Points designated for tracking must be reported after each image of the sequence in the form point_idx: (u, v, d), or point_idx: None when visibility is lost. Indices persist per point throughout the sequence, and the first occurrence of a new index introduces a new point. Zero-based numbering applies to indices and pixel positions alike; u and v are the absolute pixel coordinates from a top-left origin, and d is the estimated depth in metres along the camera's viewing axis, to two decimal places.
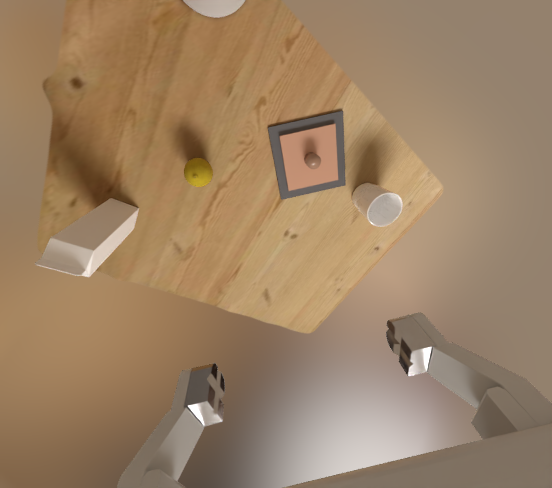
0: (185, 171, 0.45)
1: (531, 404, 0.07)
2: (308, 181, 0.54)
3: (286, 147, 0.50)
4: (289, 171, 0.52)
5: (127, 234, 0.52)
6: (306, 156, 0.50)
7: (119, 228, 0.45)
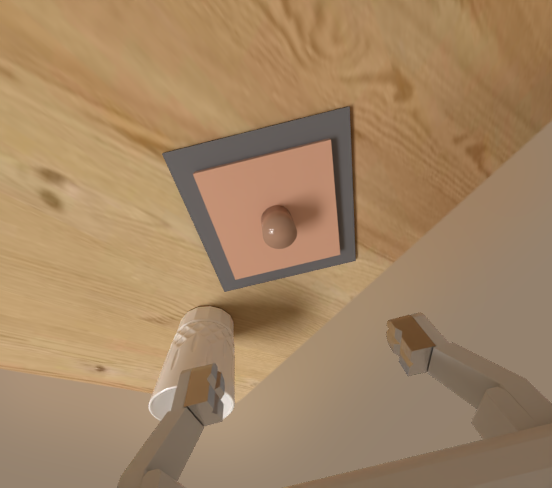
0: None
1: (531, 404, 0.07)
2: (225, 222, 0.22)
3: (303, 158, 0.20)
4: (246, 171, 0.20)
5: None
6: (285, 211, 0.21)
7: None
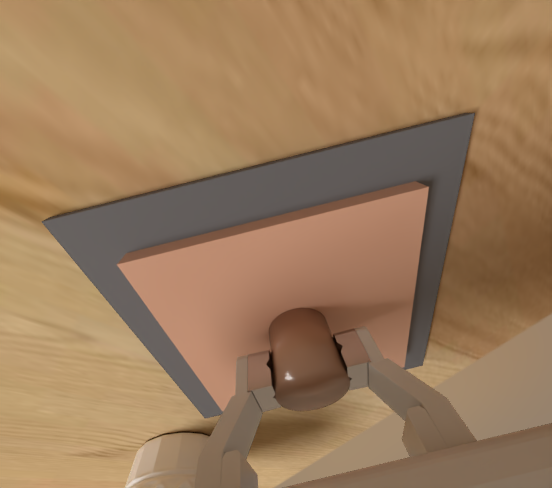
0: None
1: (446, 425, 0.07)
2: (198, 339, 0.11)
3: (363, 225, 0.09)
4: (238, 255, 0.09)
5: None
6: (321, 326, 0.10)
7: None
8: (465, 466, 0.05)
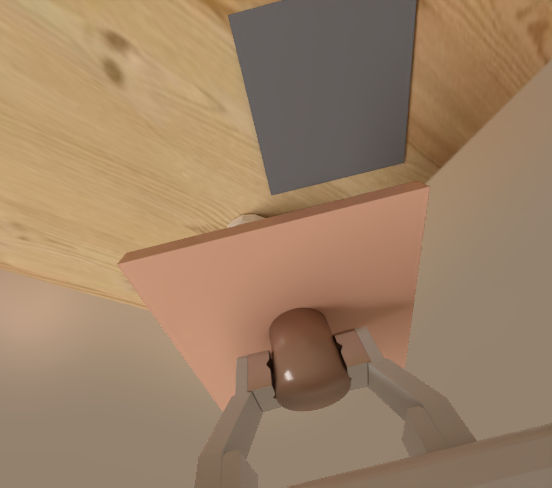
0: None
1: (445, 424, 0.07)
2: (198, 339, 0.11)
3: (364, 225, 0.09)
4: (238, 254, 0.09)
5: None
6: (321, 326, 0.10)
7: None
8: (465, 466, 0.05)
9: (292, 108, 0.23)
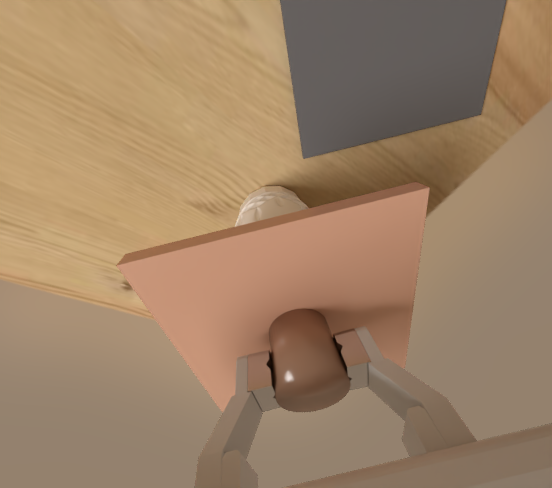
0: None
1: (445, 424, 0.07)
2: (198, 340, 0.11)
3: (363, 226, 0.09)
4: (238, 255, 0.09)
5: None
6: (321, 327, 0.10)
7: None
8: (465, 466, 0.05)
9: (343, 24, 0.16)
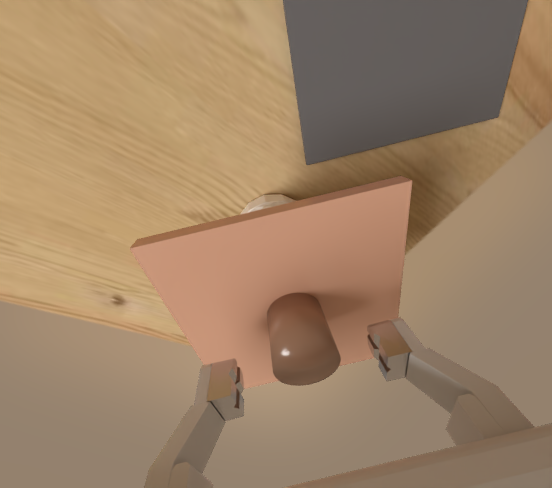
0: None
1: (500, 411, 0.07)
2: (201, 321, 0.12)
3: (353, 215, 0.10)
4: (239, 241, 0.10)
5: None
6: (315, 309, 0.11)
7: None
8: (465, 466, 0.05)
9: (351, 18, 0.15)
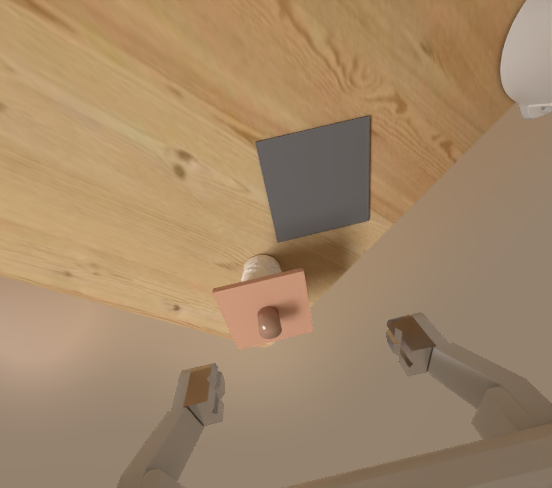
0: None
1: (531, 404, 0.07)
2: (232, 317, 0.32)
3: (286, 281, 0.30)
4: (248, 289, 0.30)
5: None
6: (274, 312, 0.31)
7: None
8: (465, 466, 0.05)
9: (293, 190, 0.35)
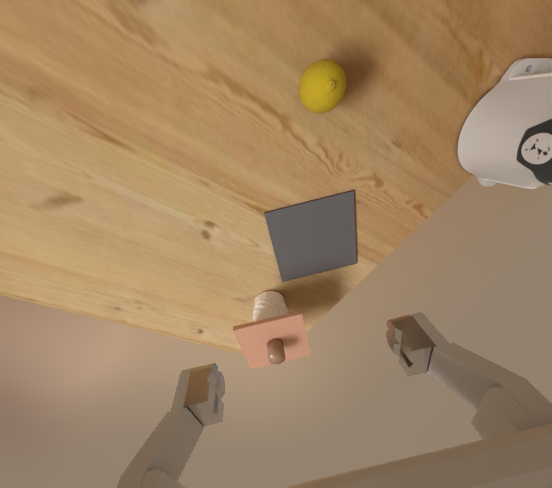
0: (336, 64, 0.26)
1: (531, 404, 0.07)
2: (247, 346, 0.42)
3: (288, 321, 0.40)
4: (259, 327, 0.40)
5: None
6: (279, 343, 0.41)
7: None
8: (465, 466, 0.05)
9: (294, 244, 0.44)
